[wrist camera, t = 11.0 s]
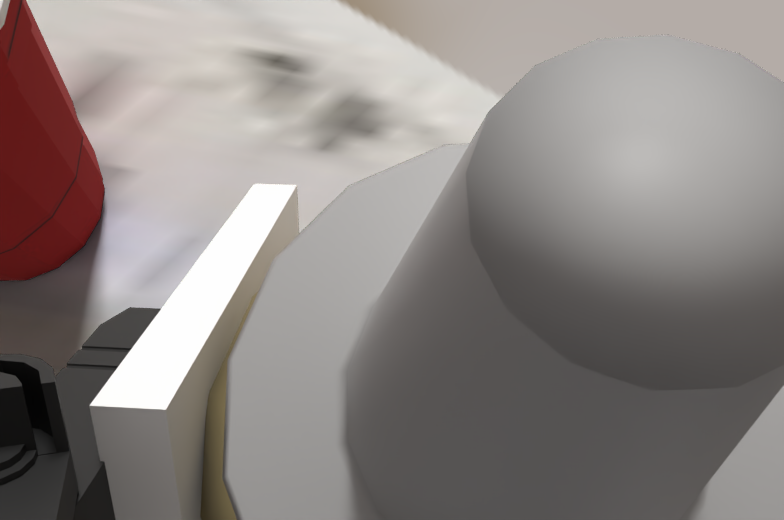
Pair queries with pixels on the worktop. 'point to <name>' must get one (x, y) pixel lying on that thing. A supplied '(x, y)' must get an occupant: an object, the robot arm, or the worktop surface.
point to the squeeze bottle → (532, 314)
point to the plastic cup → (40, 156)
